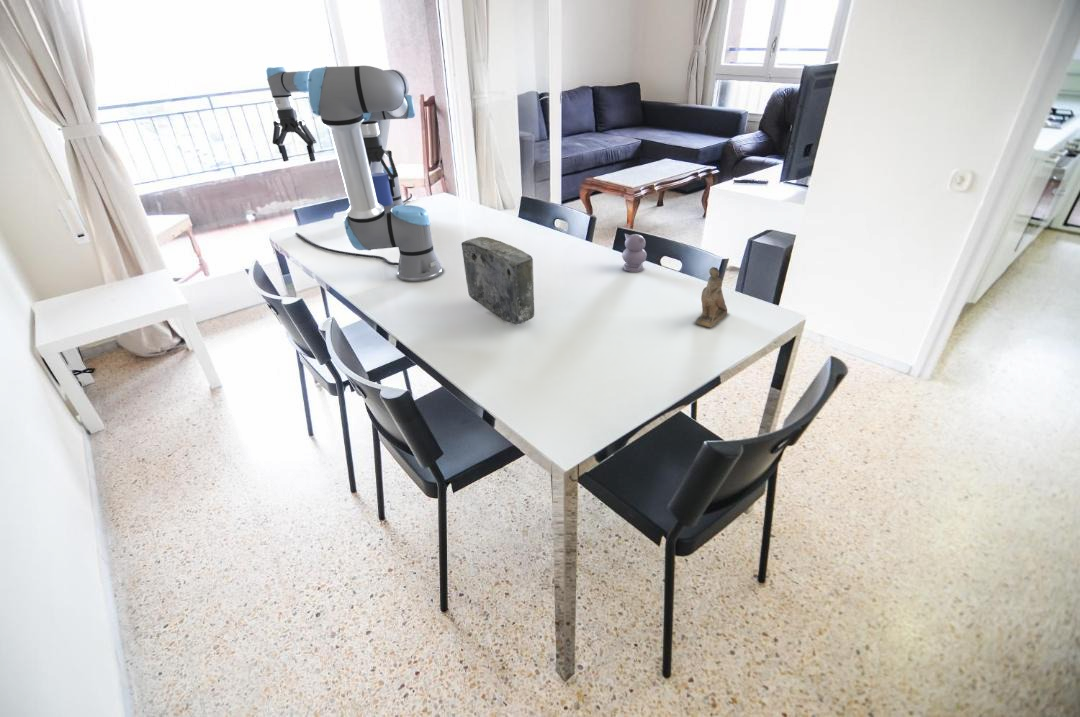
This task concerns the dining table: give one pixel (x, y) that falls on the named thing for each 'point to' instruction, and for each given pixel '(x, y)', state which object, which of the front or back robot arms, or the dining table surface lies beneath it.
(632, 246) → the cat figurine
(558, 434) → the dining table surface
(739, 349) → the dining table surface
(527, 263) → the concrete block
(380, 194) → the canister
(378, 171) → the back robot arm
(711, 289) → the brown carved statuette
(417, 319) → the dining table surface
